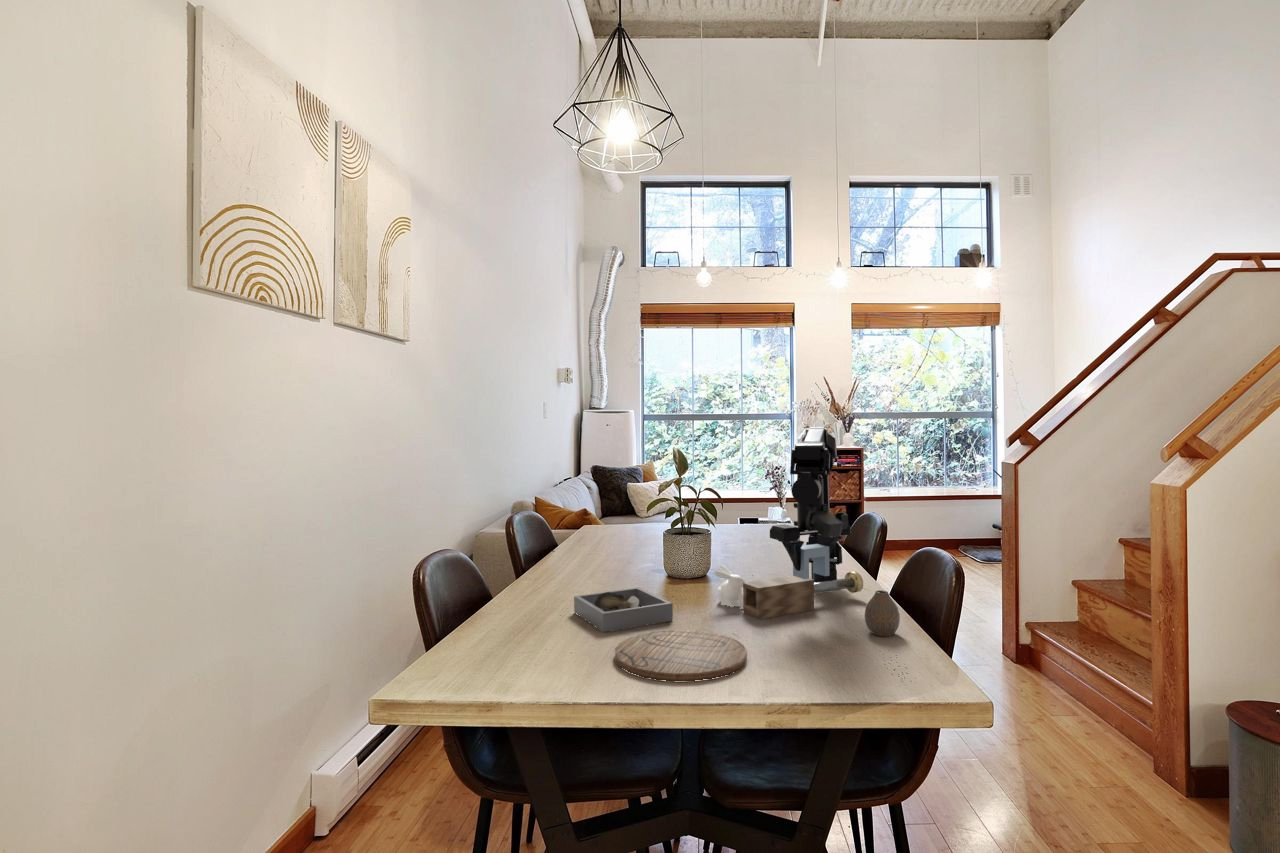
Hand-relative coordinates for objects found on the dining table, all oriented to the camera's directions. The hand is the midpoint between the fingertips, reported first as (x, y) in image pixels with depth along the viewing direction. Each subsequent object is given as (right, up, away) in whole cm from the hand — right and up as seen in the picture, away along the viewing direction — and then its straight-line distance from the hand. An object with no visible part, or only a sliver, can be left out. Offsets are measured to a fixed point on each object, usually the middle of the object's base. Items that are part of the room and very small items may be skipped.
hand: (811, 568), depth 156 cm
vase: (+12, -12, -11) cm, 20 cm away
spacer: (0, -2, 0) cm, 2 cm away
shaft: (+7, -10, +13) cm, 18 cm away
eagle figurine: (-44, -12, +2) cm, 45 cm away
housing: (-6, -11, +7) cm, 15 cm away
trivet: (-31, -13, -24) cm, 41 cm away
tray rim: (-42, -12, +4) cm, 44 cm away
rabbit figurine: (-17, -12, +13) cm, 25 cm away
